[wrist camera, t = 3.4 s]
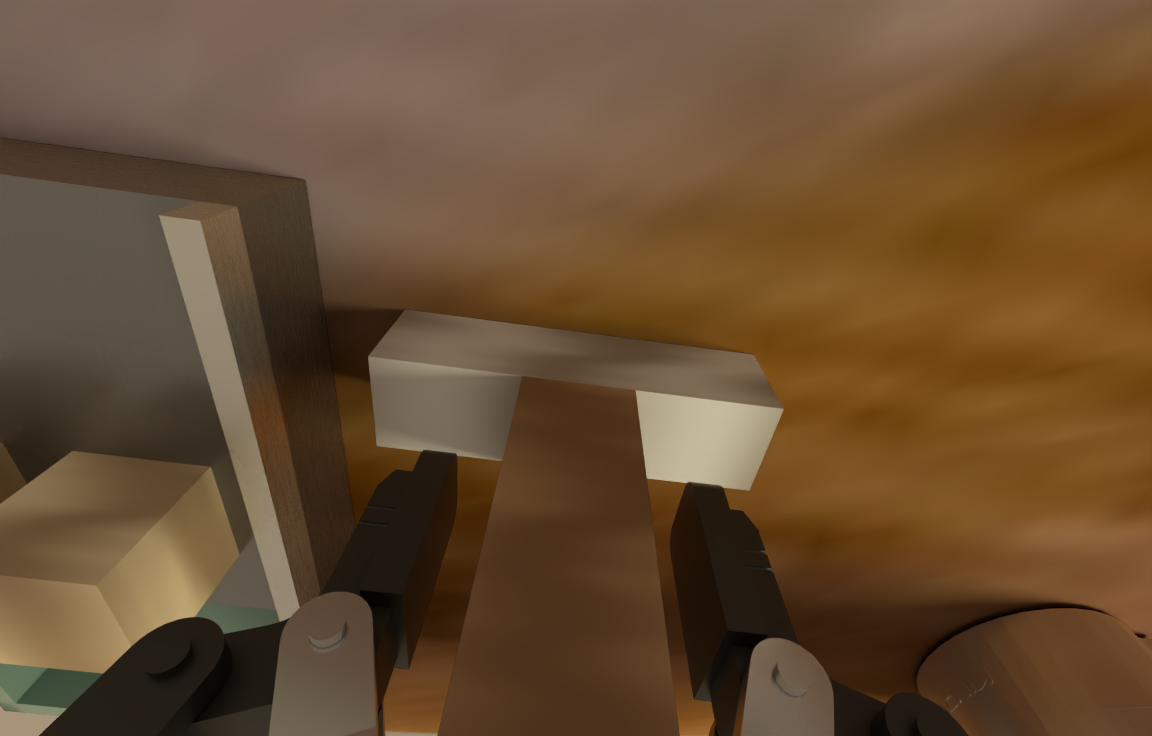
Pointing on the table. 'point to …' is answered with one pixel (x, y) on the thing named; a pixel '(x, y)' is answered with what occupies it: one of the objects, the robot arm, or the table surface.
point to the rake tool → (568, 505)
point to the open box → (177, 346)
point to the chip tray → (63, 687)
